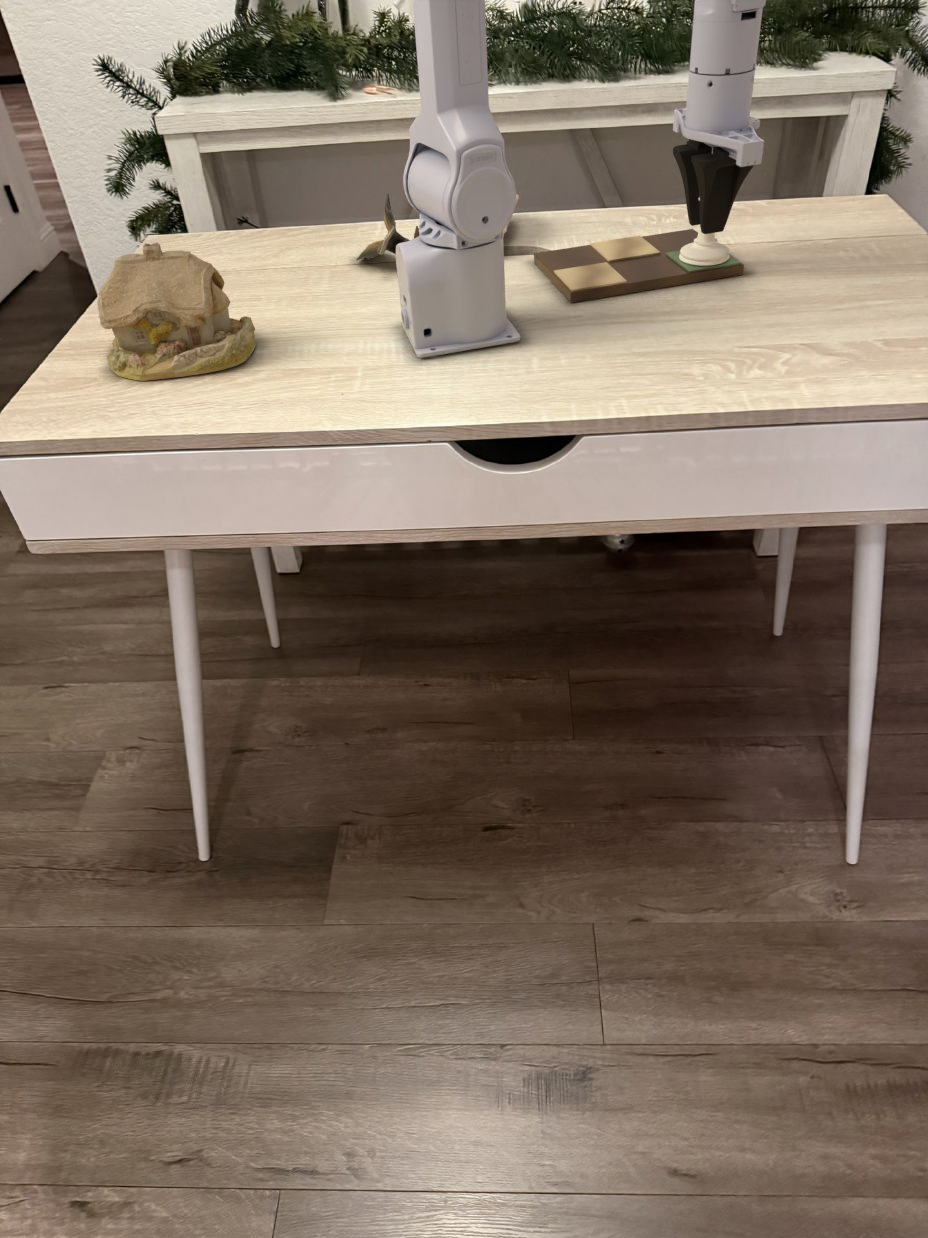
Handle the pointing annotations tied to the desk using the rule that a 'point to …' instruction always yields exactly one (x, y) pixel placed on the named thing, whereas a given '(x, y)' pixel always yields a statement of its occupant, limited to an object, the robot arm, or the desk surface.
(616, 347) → the desk surface
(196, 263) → the ceramic model
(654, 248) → the board
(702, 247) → the chess piece
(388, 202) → the brown pointed piece
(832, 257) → the desk surface
